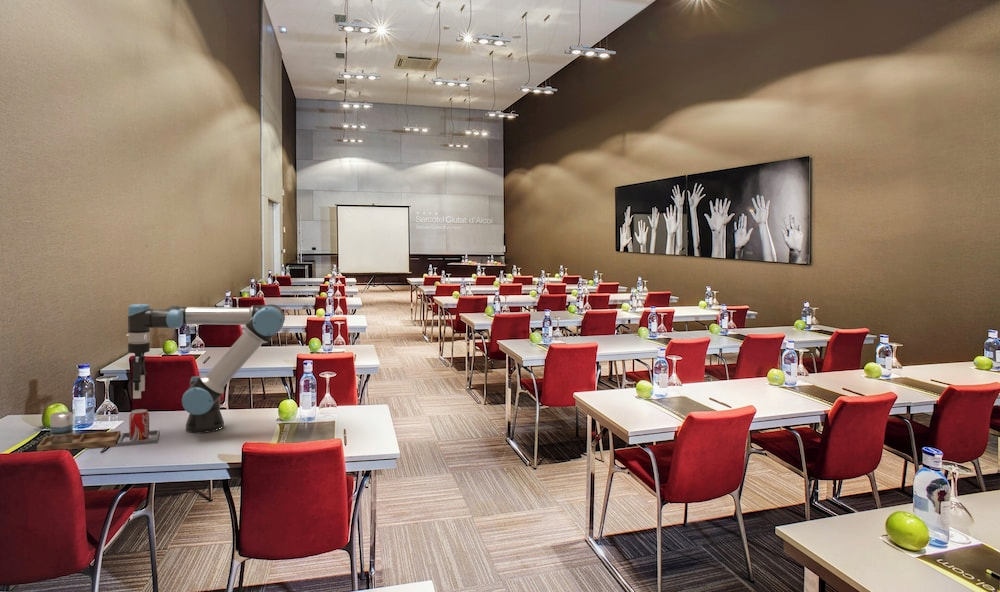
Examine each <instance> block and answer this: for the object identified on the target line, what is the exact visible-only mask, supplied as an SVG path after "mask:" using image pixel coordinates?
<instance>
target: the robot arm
mask: <svg viewBox="0 0 1000 592" xmlns="http://www.w3.org/2000/svg"><path fill="white" fill-rule="evenodd" d="M127 307H128V308H127V328H128V329H127V332H128V333H127V334H126V335H125V336H126V338H127V340H128V344H127V353H128V354H134V355H133V357H132V362H133V363H132V380H130V383H131V384H132V399H142V392H145V390H146V386H145V385H146V379H145V378H146V375H148V373H147V371H146V365H145V362H146V355H145V354H146V353H148V352H150V349H151V347H150V346H151V345H150V340H151V338H150V337H151V333H150V331H151V330H150V329H155V328H156V329H158V328H160V329H179V328H182V326H183V325H215V326H216V325H225V326H227V325H228V326H229V325H230V326H231V325H233V326H234V325H235V326H240V325H241V326H245V330H244V332H243V333H242V334H241V335H240V336H239V337H238V338H237V340H236V341H235V342H234V343H233V344H232V345H231V346H230V348H228V350H226V351H225V353H224V354H223V355H222V357H220V359H218V361H217V362H216V363H215V364H214V365H213V367H211V368H210V370H209V371H208V372H207V373H206V374H204V375H196V376H191V378H190V381H189V385H190V386H189V387H188V389H187V390H186V391H184V393H183V395H182V398H181V405H182V407H183V410H185V411H186V412H187V413H189V414H188V417H187V420H186V423H185V431H186V432H188V431H189V433H194V432H205V433H207V432H206V431H212V432H214V431H213V430H216V429H219V428H221V427H223V426H224V427H225V420H224V418H223V415H222V412H221V409H220V408H221V407H220V406H221V396H222V395H223V394H224V393H225V389H224V388H225V387H226V385H227V384H228V383H229V382H230V381H231V379H232V378H233V377H234V376H235V375H236V374H237V373H238V372H239V371H240V369H241V368H242V367H243V366H244V365H245V364H246V363H247V362H248V360H249V359H250V358H251V357H252V356H253V355H254V353H256V351H257V350H258V349H259V348H260V347H261V345H263V344H266V343H267V344H268V343H269V342H270V341H271V340H272V339H273V338H274V337H275V336H276V334H277V333H279V332H280V331H281V329H282V328H283V326H284V323H285V320H286V316H285V312H284V310H283V309H282V308H281V307H280V306H278V305H276V304H262V305H261V304H260V305H259V304H258V305H251V306H250V307H227V306H226V307H225V306H224V307H222V306H221V307H220V306H217V307H216V306H214V307H213V306H178V305H172V306H169V307H167V308H165V309H161V308H160V309H159V308H158V309H153V308H150V304H148V303H147V304H146V303H132V304H130V305H128V306H127ZM224 427H223V428H224Z"/></svg>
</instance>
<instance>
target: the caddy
mask: <svg viewBox="0 0 1000 592" xmlns="http://www.w3.org/2000/svg"><path fill="white" fill-rule="evenodd" d="M121 434H122V432H121V430H117V431H116V430H114V431H103V432H99V431H98V432H87V433H73V443H66V444H53V445H51V435H49V436H45V437H43V439H42V440H41V441H40V442H39V443H38V444H37V445H36V452H37V451H43V450H52V449H68V450H67V451H73V450H72V449H78V450H82V449H81V448H90V449H99V448H101V449H102V448H113V447H117V443H118V440H119V438H120V436H121ZM70 449H71V450H70Z"/></svg>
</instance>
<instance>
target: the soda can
mask: <svg viewBox="0 0 1000 592" xmlns="http://www.w3.org/2000/svg"><path fill="white" fill-rule="evenodd" d="M130 411H131V413H130V414H129V418H128V423H129V424H128V433H129V441H137V440H148V438H149V437H150V435H149V431H150V413H149V412H148V409H146V408H145V409H144V408H140V409H133V410H130Z"/></svg>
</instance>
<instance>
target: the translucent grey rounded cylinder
mask: <svg viewBox="0 0 1000 592" xmlns="http://www.w3.org/2000/svg"><path fill="white" fill-rule="evenodd" d="M49 415H50V417H49V419H50V422H49V423H50V425H49V427H50V428H49V431H50V432H49V433H50V436H51V445H53V444H66V443H73V434H74V433H73V432H74V424H73V421H74V419H73V412H71V411H59V412H58V411H57V412H54V413H51V414H49Z"/></svg>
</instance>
